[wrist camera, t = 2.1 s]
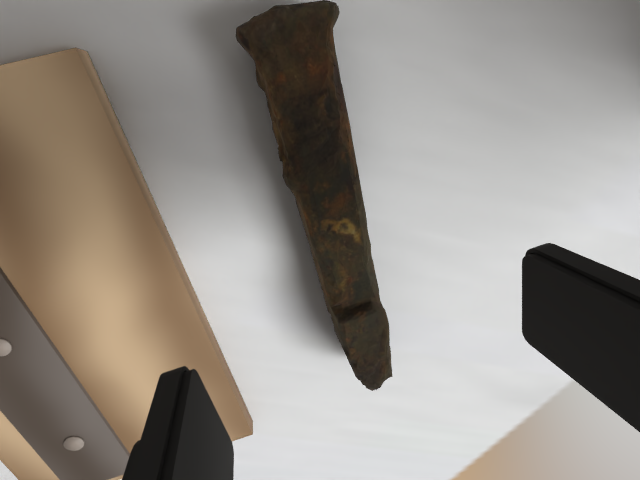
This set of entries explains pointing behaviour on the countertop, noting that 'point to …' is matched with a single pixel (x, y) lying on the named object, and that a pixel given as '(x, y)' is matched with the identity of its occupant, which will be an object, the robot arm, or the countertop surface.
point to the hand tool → (322, 171)
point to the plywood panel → (86, 283)
